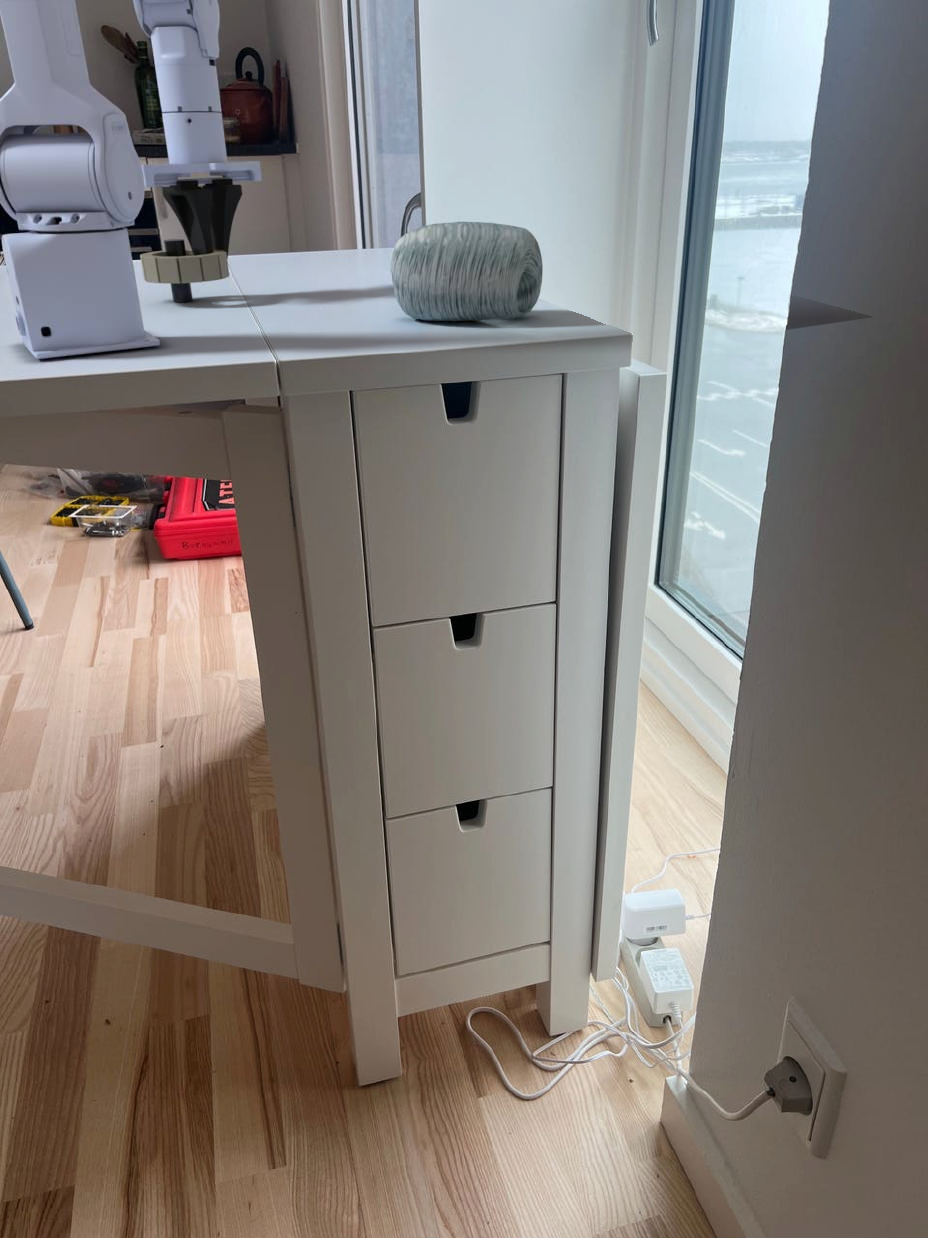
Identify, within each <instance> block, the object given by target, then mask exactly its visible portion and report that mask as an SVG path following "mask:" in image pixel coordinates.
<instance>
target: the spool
mask: <svg viewBox="0 0 928 1238" xmlns="http://www.w3.org/2000/svg"><path fill="white" fill-rule="evenodd" d="M389 264H390V274H391V282H392V286H393V293H394V296H395V299H396V301H397V303H398V305H399V307H400V309H401V310H402V312H404V314H405V315H407V316H409V317H411V318H412V319H414V320H423V321H428V322H432V321H435V322H464V321H491V320H505V319H506V320H507V319H510V320H512V319H518V318H520V317H523V316H526V315H528V314H530V312H531V311H532V310H533V308H534V307H535V306H536V304H537V303H538V300H539V297H540V294H541V290H542V289H541V287H542V283H543V272H544V271H543V270H544V269H543V268H544V267H543V256H542V253H541V248H540V245H539V242H538V240H537V239H536V237H535V236H534V234H533V233H532V232H531V231H530V230H528V229H527V228H526V227H521V226H516V225H511V224H503V223H496V222H483V221H453V222H438V223H432V224H427V225H424V226H420V227H418V228H415V229H413V230H410V231H408V232H407V233H405V234H403V235H402V236H401V237H400V238H399V239H398V240H397V242H396V243H395V245H394V247H392V250H391V252H390V259H389Z"/></svg>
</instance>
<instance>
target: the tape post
mask: <svg viewBox="0 0 928 1238" xmlns="http://www.w3.org/2000/svg"><path fill="white" fill-rule="evenodd" d="M163 243H164V251H166V257H179V256H186V249H187V248H186V244H185V243H186V241H185V239H183V238H174V239H173V238H172V239H171V238H170V239H164V240H163ZM170 289H171V295H172V302H174V303H190V302H193V300H194V298H193V291H192V283H170Z"/></svg>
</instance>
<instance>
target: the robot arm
mask: <svg viewBox="0 0 928 1238" xmlns="http://www.w3.org/2000/svg"><path fill="white" fill-rule="evenodd" d="M132 1H133V6H134V7H133V8H134V10H135V15H136V17H137V21H138V23H139V26H140V28H141V29H142V31H143V32H144V33H145V35H146V36H147V37H148V38H150V42H151V48H152V54H153V55H152V56H153V61H154V67H155V69H154V70H155V74H156V75H155V77H156V81H157V88H158V97H159V103H160V110H161V115H162V122H163V123H162V124H163V129H164V137H165V143H166V150H167V151H166V152H167V159H168V163H156V164H155V163H152V164H150V163H149V164H141V160H140V157H139V155H138V153H137V151H136V148H135V146H134V143H133V140H132V136H131V132H130V128H129V124H128V123H129V122H128V121H127V116H126V114H125V113H124V111H122V110H121V109H120V108H119V107H118V106H117V105H115V104H114V102H113V103H112V101H110V100H109V99H108V98H107V97H106V96H104V95H103V94H102V93H100V92H99V91H98V90H97V89H96V88H95V87H94V86H93V85H92V84H91V83H90V82H91V81H90V77H89V72H88V65H87V61H86V55H85V49H84V44H83V38H82V32H81V27H80V22H79V16H78V10H77V9H78V8H77V4H76V0H0V19H1V24H2V29H3V32H4V33H3V35H4V38H5V43H6V47H7V48H6V49H7V52H8V57H9V61H10V67H11V72H12V76H13V80H14V83H13V84H12V86H11V87H10V88H9V89H8V90H7V91H6V92H5V93H4V94H3V95H2V96H1V97H0V205H1V206H2V208H3V210H4V211H5V213H7V214H8V215H9V217H11V218H12V220H15V221H17V222H16V223H17V226H18V230H19V231H26V232H18V233H7V234H6V233H5V234H3V235H2V236H1V246H2V247H1V248H2V252H3V258H4V262H5V267H6V272H7V273H6V274H7V277H8V281H9V285H10V290H11V294H12V298H13V302H14V303H13V304H14V307H15V312H14V316H15V317H14V318H15V321H16V325H17V329H18V333H19V335H20V336H21V337H22V339H21V340H22V344H23V345H24V346H25V348H27V350H28V351H29V352H30V354H32V356H33V357H34V358H35V359H38V360H39V359H40V360H41V359H49V358H59V357H66V356H68V357H69V356H76V355H86V354H95V353H96V354H97V353H104V352H114V351H122V350H129V349H130V350H131V349H140V348H148V347H157V346H160V345H161V342H160V339H159V338H157V337H156V336H154V335H153V334H151V333H150V332H148V331H147V330H145V326H144V325H145V324H144V320H143V314H142V308H141V303H140V296H139V291H138V284H137V278H136V273H135V268H134V267H135V266H134V262H133V261H134V260H133V256H132V249H131V243H130V239H129V232H128V228H127V227H131V226H135V225H136V224H135V219H136V218H137V217H138V215H139V214H140V211H141V209H142V207H143V205H144V201H145V188H155V187H161V191H162V196H163V198H164V200H165V201H166V202H167V203H168V206H169V207H170V208H171V210H172V211H173V213H174V215H175V217H176V218H177V220H178V222H179V223H180V226H181V228H182V229H183V232H184V234H185V237H186V240H187V241H188V243H189V246H190V249H192V252H193V255H194V256H196V255H205V254H211V253H213V249H215V250H223V251H225V252H226V253H227V260H228V258H229V248H230V239H231V232H232V226H233V223H234V222H233V221H234V218H235V214H236V211H237V209H238V205H239V203H240V201H241V198H242V196H243V187H242V184H234V183H243V182H262V181H263V178H262V168H261V161H259V160H251V161H250V160H247V161H243V160H242V161H228V156H227V155H228V154H227V147H226V140H225V131H224V130H225V129H224V122H223V121H224V120H223V114H222V106H221V96H220V88H219V80H218V71H217V64H216V63H217V62H216V60H217V59H218V58H220V44H219V30H220V22H221V21H220V4H219V1H218V0H132ZM50 126H52V127H54V126H77V127H80V128H82V129H83V130H85V131H86V132H54V133H53V132H51V133H50V132H49V133H36V131H38V129H41V128H44V127H50ZM196 173H197V174H198V173H199V174H200V173H202V174H203V173H209V176H212V177H200V178H191V174H196ZM213 176H219V177H213ZM220 176H221V177H220ZM199 185H201V186H199Z"/></svg>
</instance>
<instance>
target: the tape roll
mask: <svg viewBox="0 0 928 1238" xmlns="http://www.w3.org/2000/svg"><path fill="white" fill-rule="evenodd" d="M185 249H186V256H179V257H166V251H165V250H158V251H150V252H149V251H148V252H145V253H141V254H140V255H139V259H140V265H141V269H142V270H141V271H142V276H143V280H144V281H145V282H147V283H151V284H171V283H190V284H193V283H195V284H197V283H206V282H212V281H213V282H214V281H221V280H224V279H227V278H229V277H230V270H229V263H228V259H227V253H226V252H225V251H223V250H215V249H213V253H211V254H205V255H196V256H194V255H193V252H192V249H191V248H189V249H188V248H185Z"/></svg>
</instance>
